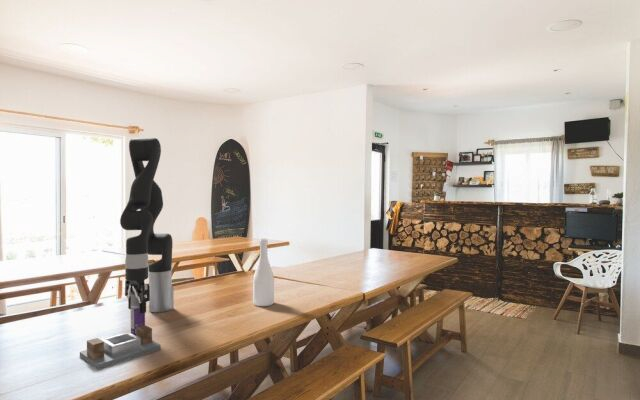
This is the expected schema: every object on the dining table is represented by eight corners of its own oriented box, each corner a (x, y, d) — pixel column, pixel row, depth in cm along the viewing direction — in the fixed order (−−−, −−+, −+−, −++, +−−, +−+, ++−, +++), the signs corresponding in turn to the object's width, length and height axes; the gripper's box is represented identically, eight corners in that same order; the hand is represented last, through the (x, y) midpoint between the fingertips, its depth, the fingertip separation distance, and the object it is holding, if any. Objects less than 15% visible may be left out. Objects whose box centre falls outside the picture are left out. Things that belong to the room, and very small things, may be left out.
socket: (128, 340, 130) (128, 332, 130) (140, 347, 125) (140, 338, 124) (101, 348, 123) (100, 339, 123) (112, 356, 118) (112, 346, 118)
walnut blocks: (145, 338, 132) (144, 325, 132) (152, 341, 129) (152, 328, 129) (86, 355, 119) (86, 340, 119) (93, 359, 115) (93, 344, 115)
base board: (140, 338, 136) (140, 334, 136) (160, 349, 127) (160, 344, 127) (79, 356, 121) (79, 351, 121) (97, 369, 112) (97, 364, 112)
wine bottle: (249, 305, 176) (248, 239, 176) (261, 299, 185) (261, 237, 184) (266, 308, 172) (265, 240, 171) (278, 302, 180) (278, 238, 180)
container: (147, 331, 143) (146, 291, 142) (141, 336, 138) (141, 294, 138) (134, 332, 142) (133, 291, 142) (128, 336, 138) (128, 294, 137)
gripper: (156, 266, 138) (156, 312, 138) (138, 262, 147) (138, 305, 147) (135, 269, 132) (135, 317, 132) (117, 265, 141) (117, 309, 141)
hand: (137, 310), depth 140 cm, fingers open, 8 cm apart
